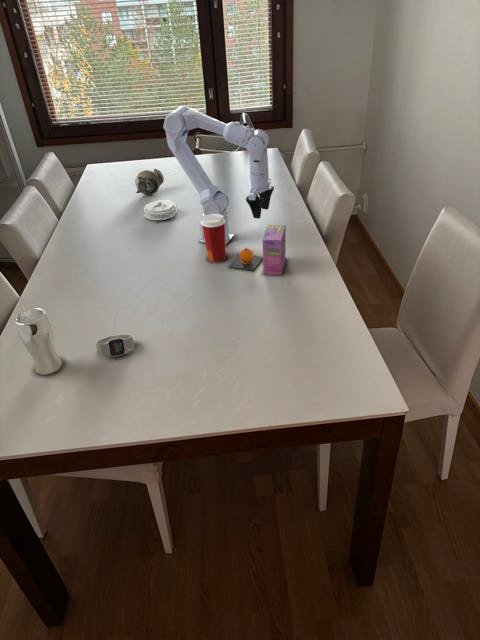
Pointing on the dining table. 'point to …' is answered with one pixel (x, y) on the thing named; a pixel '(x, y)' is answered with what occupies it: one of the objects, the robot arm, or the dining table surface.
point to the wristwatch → (115, 344)
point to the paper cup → (214, 236)
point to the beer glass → (38, 340)
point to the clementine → (246, 256)
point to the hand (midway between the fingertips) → (261, 213)
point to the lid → (160, 210)
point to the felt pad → (251, 267)
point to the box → (274, 249)
